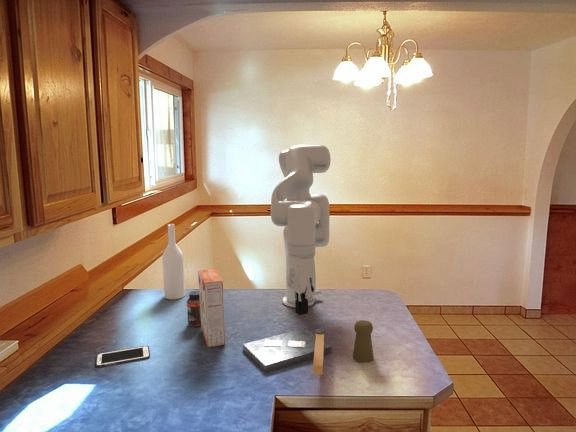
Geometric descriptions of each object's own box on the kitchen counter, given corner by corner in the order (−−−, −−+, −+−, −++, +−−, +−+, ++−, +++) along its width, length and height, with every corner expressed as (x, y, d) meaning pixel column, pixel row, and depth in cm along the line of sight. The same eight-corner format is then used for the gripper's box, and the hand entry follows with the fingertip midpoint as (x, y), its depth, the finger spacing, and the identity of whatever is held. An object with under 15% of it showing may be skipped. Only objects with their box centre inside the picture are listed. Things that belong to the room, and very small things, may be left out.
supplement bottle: (207, 320, 152) (206, 290, 151) (202, 327, 147) (201, 295, 145) (191, 320, 153) (189, 289, 151) (185, 327, 147) (183, 295, 145)
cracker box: (200, 330, 145) (197, 269, 141) (218, 327, 147) (215, 268, 143) (206, 348, 132) (203, 282, 128) (225, 345, 134) (223, 280, 130)
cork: (360, 365, 121) (361, 327, 119) (348, 355, 126) (348, 320, 125) (377, 359, 124) (378, 323, 122) (364, 351, 129) (365, 316, 127)
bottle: (174, 300, 172) (170, 226, 167) (160, 297, 176) (156, 225, 172) (189, 294, 179) (185, 223, 174) (174, 291, 183) (171, 221, 178)
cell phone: (150, 359, 126) (150, 356, 126) (95, 369, 121) (95, 365, 121) (148, 348, 133) (148, 345, 133) (96, 356, 128) (96, 353, 128)
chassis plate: (305, 334, 141) (305, 323, 140) (331, 352, 128) (331, 341, 128) (243, 350, 130) (242, 339, 130) (265, 372, 117) (265, 360, 117)
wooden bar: (315, 336, 130) (315, 328, 130) (325, 337, 130) (325, 329, 129) (311, 374, 109) (311, 364, 109) (324, 375, 109) (324, 365, 108)
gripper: (278, 245, 124) (279, 306, 127) (300, 257, 110) (300, 325, 113) (302, 242, 126) (302, 302, 129) (326, 254, 113) (326, 321, 116)
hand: (301, 313), depth 121 cm, fingers closed
